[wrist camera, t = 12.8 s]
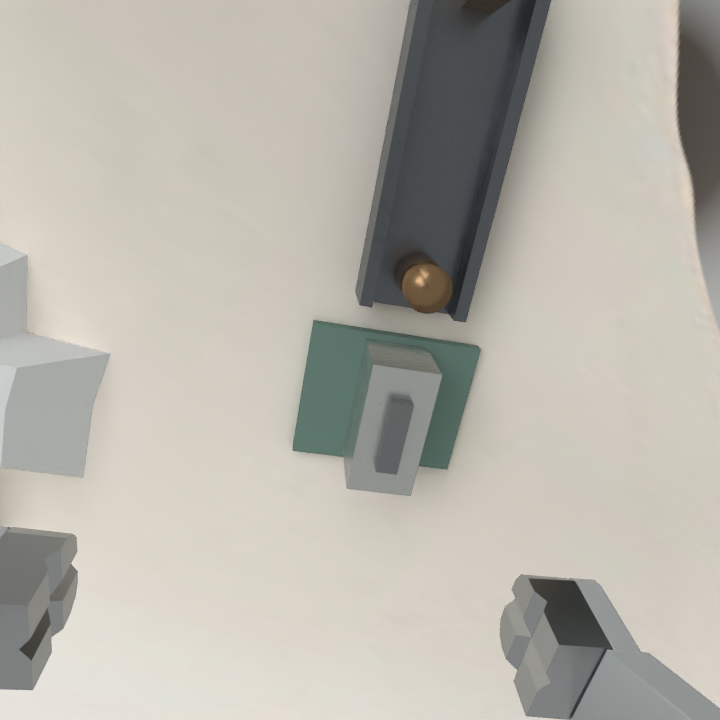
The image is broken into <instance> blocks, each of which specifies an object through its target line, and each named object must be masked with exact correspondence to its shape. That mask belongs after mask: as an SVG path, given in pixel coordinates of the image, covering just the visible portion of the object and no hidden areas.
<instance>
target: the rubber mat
mask: <svg viewBox="0 0 720 720" xmlns="http://www.w3.org/2000/svg"><path fill="white" fill-rule="evenodd" d="M366 338H370V339H376V340H382V341H389V342H395V343H401V344H408V345H414V346H420V347H427V349H428V350H429V352H430V354H431V356H432V357H433V359H434V361H435V363H436V364H437V366H438V368H439V370H440V372H441V373H442V378H441V382H440V386H439V390H438V394H437V397H436V401H435V405H434V409H433V412H432V416H431V420H430V424H429V428H428V431H427V435H426V439H425V443H424V447H423V450H422V454H421V458H420V462H419V465H418V466H423V467H431V468H439V469H447V468H448V464H449V461H450V457H451V454H452V450H453V446H454V443H455V439H456V436H457V432H458V429H459V425H460V421H461V418H462V414H463V411H464V407H465V404H466V400H467V396H468V393H469V389H470V386H471V382H472V379H473V375H474V371H475V368H476V364H477V361H478V357H479V354H480V348H479V347H478V346H475V345H469V344H463V343H456V342H450V341H443V340H437V339H431V338H424V337H418V336H411V335H405V334H399V333H392V332H386V331H379V330H373V329H367V328H360V327H354V326H347V325H341V324H335V323H328V322H322V321H315V320H314V321H313V327H312V333H311V339H310V345H309V351H308V357H307V363H306V369H305V375H304V381H303V387H302V393H301V399H300V405H299V411H298V417H297V424H296V430H295V436H294V442H293V451H300V452H308V453H316V454H325V455H333V456H341V457H343V447H344V442H345V437H346V432H347V427H348V422H349V418H350V413H351V408H352V403H353V398H354V394H355V389H356V384H357V379H358V374H359V369H360V365H361V360H362V355H363V350H364V345H365V340H366Z"/></svg>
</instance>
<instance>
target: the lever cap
mask: <svg viewBox="0 0 720 720" xmlns="http://www.w3.org/2000/svg"><path fill="white" fill-rule="evenodd" d="M441 378H442V373H441V372H440V370H439V368H438V366H437V364H436V363H435V361H434V359H433V357H432V356H431V354H430V352H429V350H428V349H427V347H420V346H414V345H408V344H401V343H395V342H389V341H382V340H376V339H370V338H366V340H365V345H364V350H363V355H362V360H361V365H360V369H359V374H358V379H357V384H356V389H355V394H354V398H353V403H352V408H351V413H350V418H349V422H348V427H347V432H346V437H345V442H344V447H343V457H344V467H345V477H346V487H347V489H355V490H363V491H372V492H380V493H389V494H397V495H406V496H411V492H412V488H413V484H414V481H415V477H416V473H417V469H418V465H419V462H420V458H421V454H422V450H423V447H424V443H425V439H426V435H427V431H428V428H429V424H430V420H431V416H432V412H433V409H434V405H435V401H436V397H437V394H438V390H439V386H440V382H441Z"/></svg>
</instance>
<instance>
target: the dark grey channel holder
mask: <svg viewBox="0 0 720 720" xmlns="http://www.w3.org/2000/svg"><path fill="white" fill-rule="evenodd" d="M550 3H551V0H411V1H410V6H409V11H408V17H407V22H406V27H405V32H404V38H403V43H402V48H401V54H400V59H399V64H398V69H397V75H396V80H395V85H394V91H393V96H392V101H391V106H390V112H389V117H388V122H387V127H386V133H385V138H384V143H383V149H382V154H381V159H380V164H379V170H378V175H377V180H376V186H375V191H374V196H373V201H372V207H371V212H370V217H369V222H368V228H367V233H366V238H365V244H364V249H363V254H362V259H361V265H360V270H359V275H358V281H357V286H356V291H355V292H356V295H357V298H358V302H359V305H362V306H368V307H372V304H373V302H379V303H385V304H391V305H398V306H404V307H410V308H413V309H415V310H416V311H418V312H421V313H433V312H440V313H446V314H449V315H450V316H451V318H452V319H453V320H454V321H460V322H466V319H467V316H468V312H469V308H470V304H471V300H472V297H473V293H474V289H475V285H476V282H477V278H478V274H479V270H480V267H481V263H482V259H483V255H484V251H485V248H486V244H487V240H488V236H489V233H490V229H491V225H492V221H493V218H494V214H495V210H496V206H497V202H498V199H499V195H500V191H501V187H502V184H503V180H504V176H505V172H506V168H507V165H508V161H509V157H510V153H511V150H512V146H513V142H514V138H515V135H516V131H517V127H518V123H519V119H520V116H521V112H522V108H523V104H524V101H525V97H526V93H527V89H528V86H529V82H530V78H531V74H532V70H533V67H534V63H535V59H536V55H537V52H538V48H539V44H540V40H541V36H542V33H543V29H544V25H545V21H546V18H547V14H548V10H549V6H550Z"/></svg>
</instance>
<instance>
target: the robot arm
mask: <svg viewBox="0 0 720 720" xmlns="http://www.w3.org/2000/svg"><path fill="white" fill-rule="evenodd" d="M76 553H77V537H76V536H75V535H74V534H70V533H61V532H52V531H43V530H35V529H26V528H17V527H12V528H10V527H2V526H0V689H12V690H33V689H34V687H35V685H36V683H37V681H38V679H39V677H40V675H41V673H42V671H43V669H44V667H45V665H46V663H47V661H48V659H49V657H50V655H51V653H52V644H51V637H52V636H54V635H55V634H57V633H58V632H59V631H61V630H62V629H63V628H64V626H65V624H66V622H67V620H68V618H69V615H70V613H71V610H72V606H73V603H74V600H75V597H76V590H77V583H78V571H77V570H76V569H75V568H74V567H73V566H72V564H71V563H72V561H73V559H74V557H75V555H76ZM512 591H513V594H514V596H515V599H514V600H513V601H512V602H510V603H509V604H508V605H506V606H505V608H504V611H503V614H502V617H501V620H500V639H501V645H502V649H503V652H504V655H505V658H506V659H507V660H508V661H509V662H510V663H511V664H512V665H513V666H514V667H515V668H516V669H517V673H516V676H515V679H514V684H515V687H516V689H517V692H518V695H519V698H520V701H521V703H522V706H523V709H524V712H525V715H526V716H531V717H543V718H555V719H567V720H720V708H719V707H717V706H716V705H715V704H714V703H712V702H711V701H710V700H708V699H707V698H706V697H705V696H703V695H702V694H701V693H700V692H698V691H697V690H696V689H694V688H693V687H692V686H691V685H689V684H688V683H687V682H685V681H684V680H683V679H682V678H680V677H679V676H678V675H677V674H675V673H674V672H673V671H671V670H670V669H669V668H668V667H666V666H665V665H664V664H662V663H661V662H660V661H659V660H657V659H656V658H655V657H654V656H652V655H651V654H650V653H646V652H641V651H640V649H639V648H638V646H637V644H636V643H635V641H634V639H633V638H632V636H631V634H630V633H629V631H628V630H627V628H626V626H625V625H624V623H623V621H622V620H621V618H620V616H619V615H618V613H617V611H616V610H615V608H614V607H613V605H612V603H611V602H610V600H609V598H608V597H607V595H606V593H605V592H604V590H603V588H602V587H601V585H600V584H599V583H597V582H596V581H595V580H587V579H573V578H569V579H567V578H558V577H546V576H533V575H520V576H519V577H518V578H517V579H516V580H515V583H514V585H513V587H512Z"/></svg>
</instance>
